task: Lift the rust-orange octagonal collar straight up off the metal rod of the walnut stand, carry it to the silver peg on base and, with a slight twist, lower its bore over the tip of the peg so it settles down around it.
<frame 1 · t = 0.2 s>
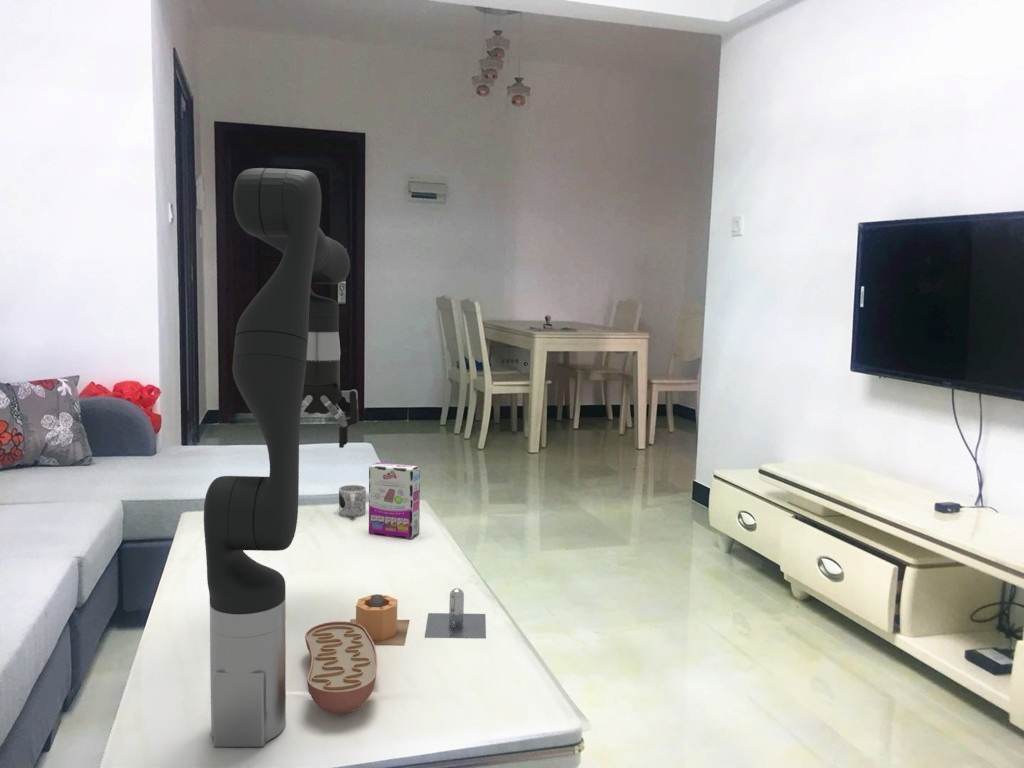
hand: (317, 446, 146), 29 cm above the table, tool pointing down, fingers open, 8 cm apart
stand: (376, 637, 134), on the table
silver peg on base: (455, 630, 137), on the table
candy bar box: (394, 534, 190), on the table
collar: (376, 631, 133), point 1 cm above the table, touching stand
anatomical model: (341, 686, 118), on the table
mug: (352, 516, 204), on the table
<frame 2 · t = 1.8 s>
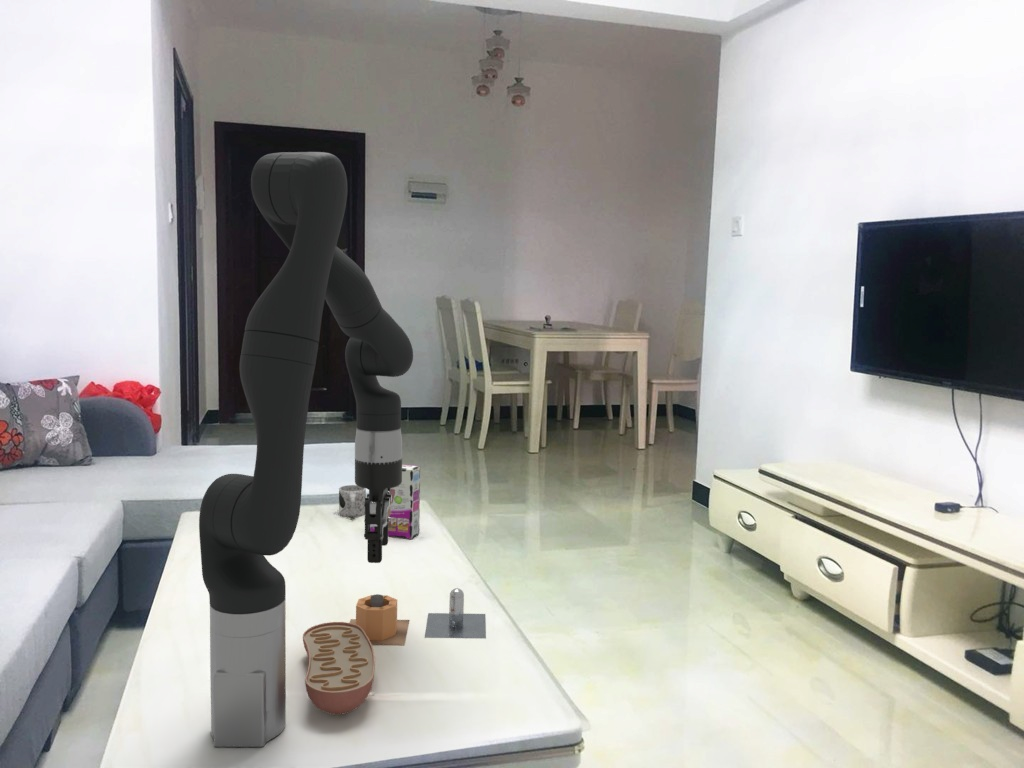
hand: (378, 553, 132), 14 cm above the table, tool pointing down, fingers open, 8 cm apart
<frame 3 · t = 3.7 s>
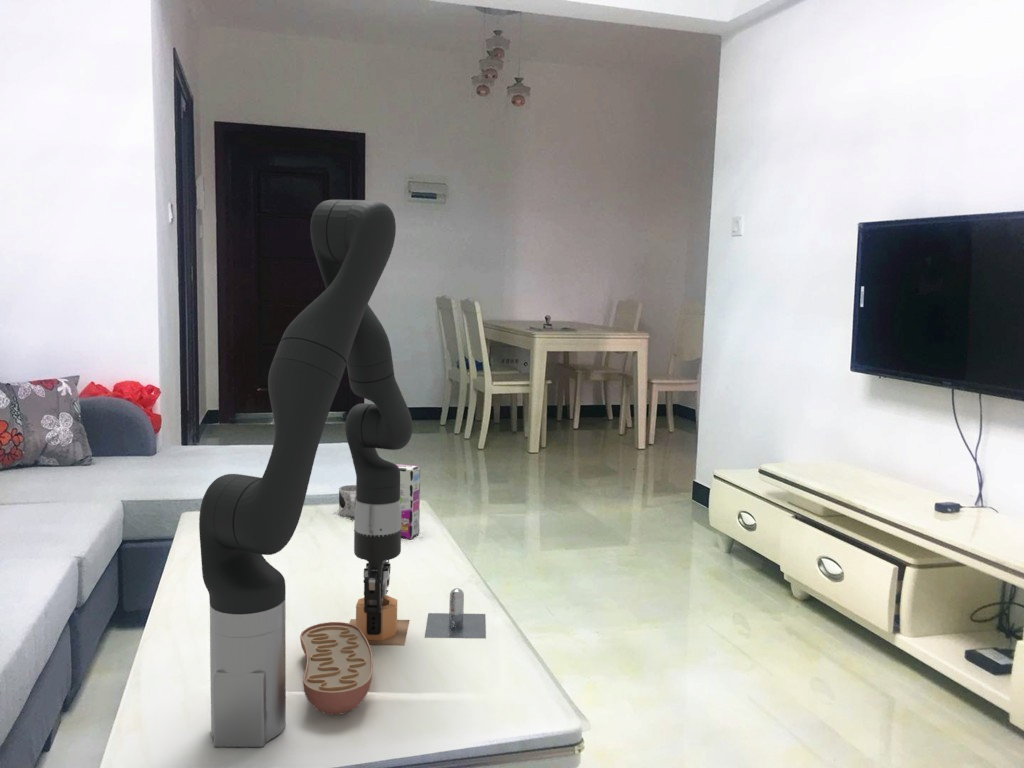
hand: (376, 624, 133), 2 cm above the table, tool pointing down, fingers closed on collar, 6 cm apart
collar: (376, 631, 133), point 1 cm above the table, touching gripper, stand
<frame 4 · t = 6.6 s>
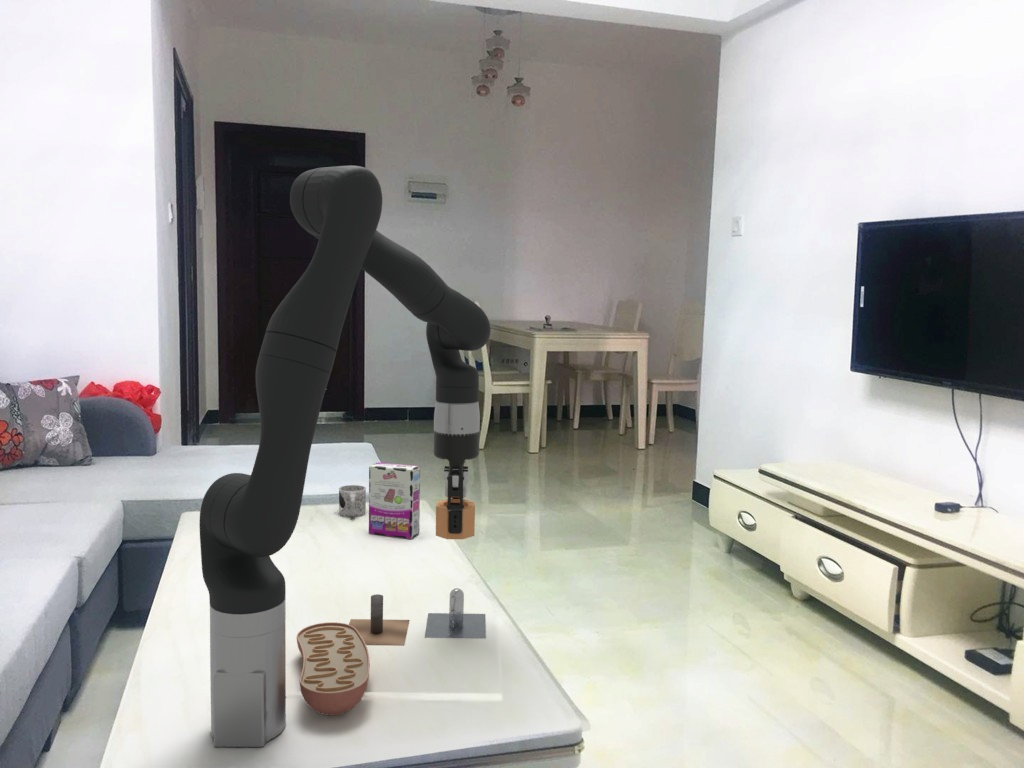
hand: (455, 526, 135), 18 cm above the table, tool pointing down, fingers closed on collar, 6 cm apart
collar: (455, 533, 135), point 17 cm above the table, touching gripper
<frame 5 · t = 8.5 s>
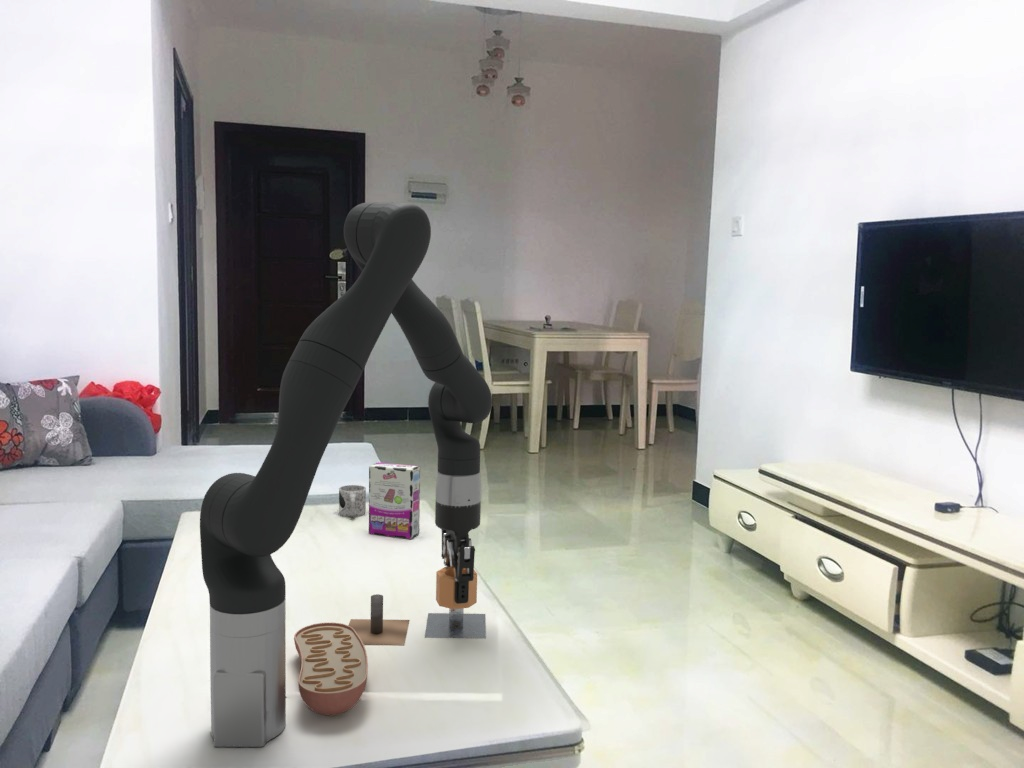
hand: (456, 594, 137), 6 cm above the table, tool pointing down, fingers closed on collar, 6 cm apart
collar: (456, 601, 137), point 5 cm above the table, touching gripper
when the fingers open (4 cm above the table, at t = 9.9 s): collar drops 2 cm, resting on silver peg on base.
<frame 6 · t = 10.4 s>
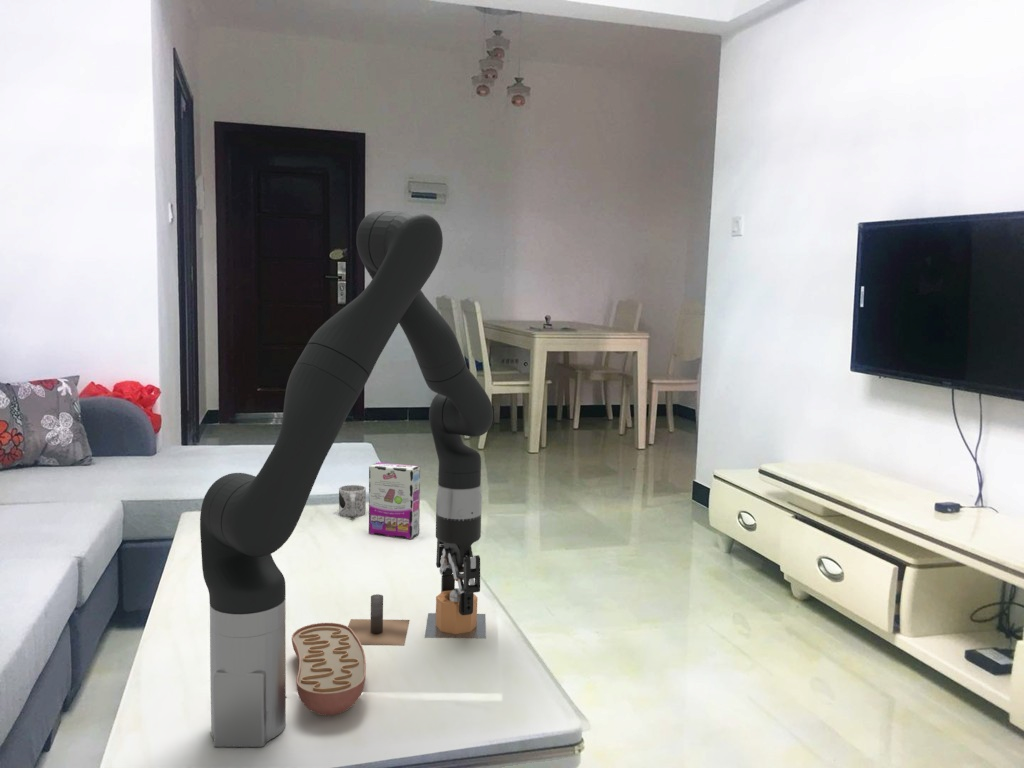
hand: (456, 604, 137), 5 cm above the table, tool pointing down, fingers open, 8 cm apart
collar: (456, 625, 137), point 1 cm above the table, touching silver peg on base
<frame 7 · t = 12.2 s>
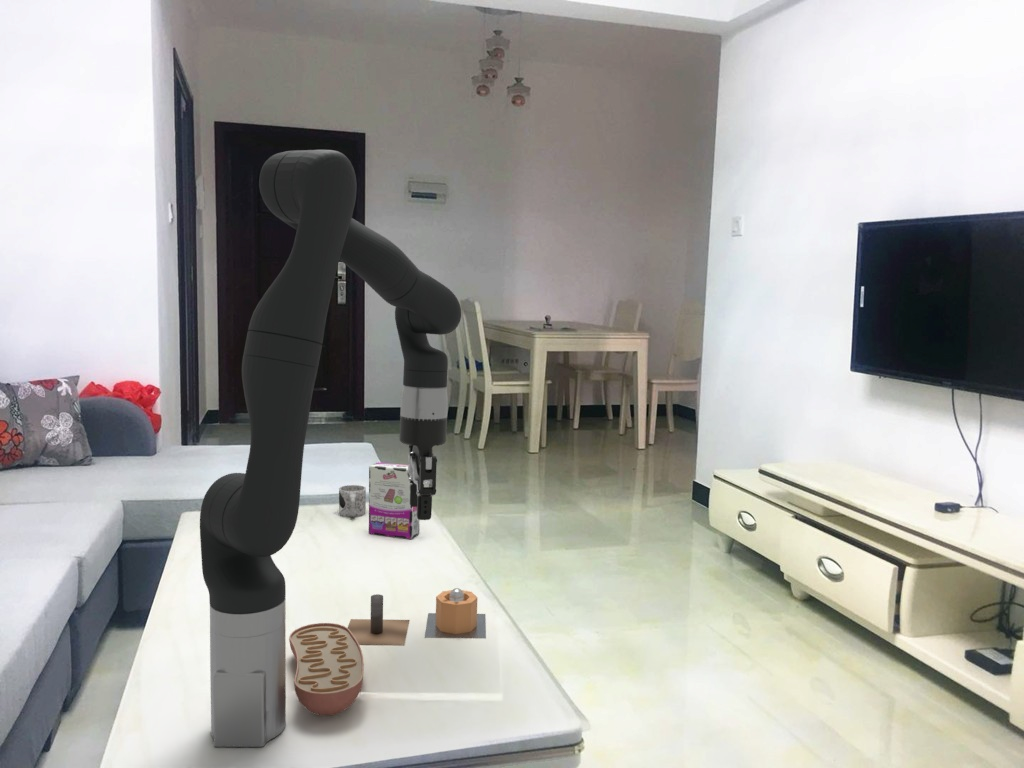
hand: (419, 512, 132), 21 cm above the table, tool pointing down, fingers open, 8 cm apart
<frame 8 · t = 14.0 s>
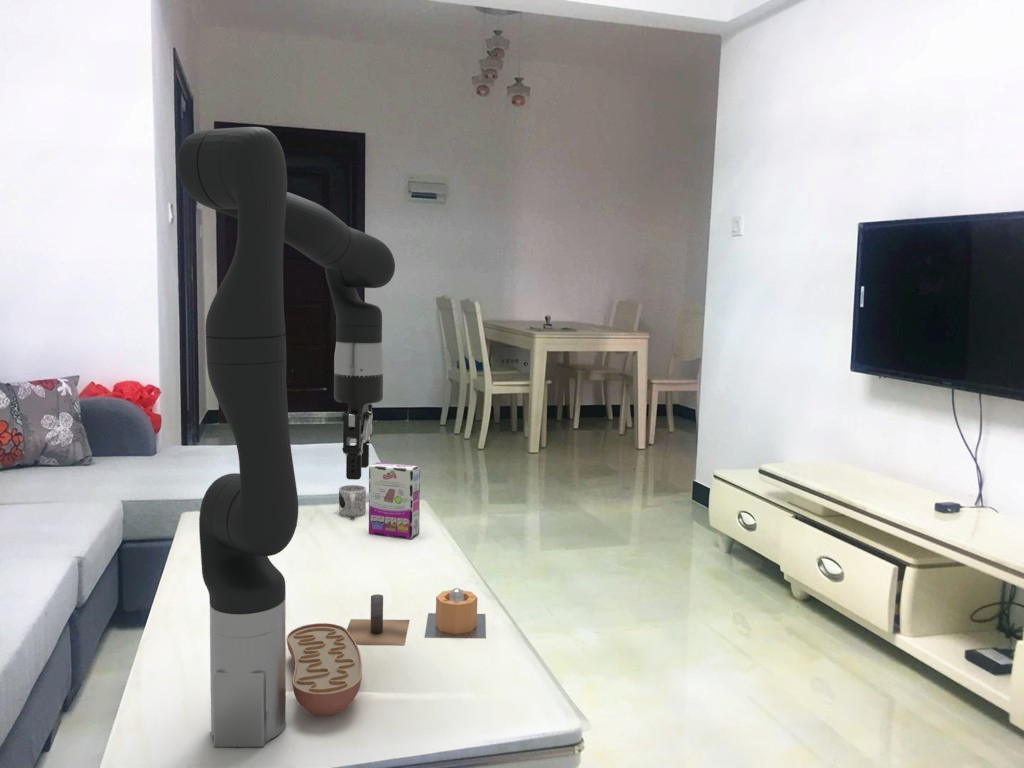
hand: (357, 472, 128), 28 cm above the table, tool pointing down, fingers open, 8 cm apart
at the end: collar 0.1 cm off-centre on the silver peg on base, point 1.0 cm above the silver peg on base's base; collar tilted 0°; the gripper is holding nothing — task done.
